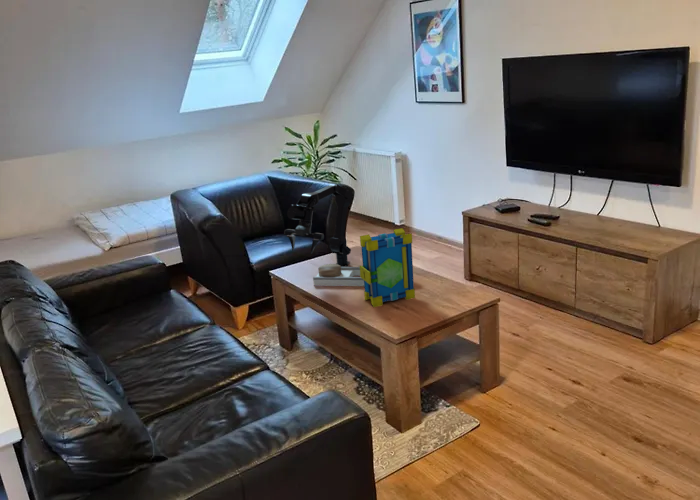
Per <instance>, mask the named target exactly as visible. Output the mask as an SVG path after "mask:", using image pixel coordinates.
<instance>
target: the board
mask: <svg viewBox="0 0 700 500" xmlns="http://www.w3.org/2000/svg"><path fill="white" fill-rule="evenodd" d="M312 281H313V286H314V287H315V286H320V287H321V286H322V287H325V286H327V287H364V280H363V279H362V278H361V277H360V266H341V275H340V276H338V277H320V276H319V272H318V273H317V274H316V276H313V277H312Z"/></svg>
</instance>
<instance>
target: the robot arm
mask: <svg viewBox="0 0 700 500" xmlns="http://www.w3.org/2000/svg"><path fill="white" fill-rule="evenodd" d="M331 195H332V196H334V199H335V203H336V206H337V209H336V218H335V228H334V234H333V236H332V237H331V236H330V238H329V244H328V245H329V249H330V250H331V252H332V254H335V256H336V258H335V259H336V263H335V264H338V265H340V266H341V267H349V264H350V263H351V262H350V261H348V256H349V255H350V254H351V251H352V249H351V248H350V247H349V246H348V245H347V244H348V243H347V242H348V241H347V239H346V236H345V232H346V223H347V221H346V220H347V213H348V207H349V206H350V204H351V203H352V198H353V193H352V191H351V190H350V189H346V188H344V187H342V186H340V185H339V184H337V183H329V184H328V185H326V186H324V187H323V188H320V189H317V190H316V191H313V192H306V193H302V194H301V195H300V198H299V199H298V201H297V202H296V204H290V207H289V208H288V210H287V211H286V216H287V217H288V219H290V220H299V222H298V225H297V226H296V227H295V229H291V228H286V229H284V231H283V235H284V236H286V237H287V238H288V239H289V242H290V245H291V250H292V251H293V252H294V251H295V247H296V245H295V244H296V236H300V237H307V238H312V241H311V242H312V243H311V248H310V254H313V253H314V250H315V248H316V246H317V244H319V242H321V241H322V240H324V239H325V235H324V233H320V232H314V233H312V225H313V223H312V221H313V214H314V212H317V209H315V206H316V205H318V203H319V202H320V201H321V200H323V199H324V198H326V197H329V196H331Z"/></svg>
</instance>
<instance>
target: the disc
mask: <svg viewBox="0 0 700 500" xmlns="http://www.w3.org/2000/svg"><path fill="white" fill-rule="evenodd" d="M341 267H342V266H340V265H338V264H336V263H329V264H328V263H327V264H323V265H320V266H319V267H318V273H319V276H320V277H338V276H340V275H341Z"/></svg>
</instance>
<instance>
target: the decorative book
mask: <svg viewBox="0 0 700 500" xmlns="http://www.w3.org/2000/svg"><path fill="white" fill-rule="evenodd" d="M359 242H360V248H361V257H362V258H361V259H362V260H361V261H362V265H358V267H360V276H359V277H361V278H362V279H363V280H364V286H363V287H364V290H363V294H364V296H363V297H364V301H368V300H370V303H371V305H372V307H373V308H377V307H381V306H383V305H384V304H383V303H384V302H393V301H397V300H399V299H403V298H404V299H405V300H407V301H408V300H411V298H413V299H416V291H415V289H416V288H414V287H415V286H414V285H415V284H414V268H413V267H414V265H413V247H412V246H413V245H412V243H413V234H412V233H406V231H405V230H404V228H402V227H401V228H396V229H393V232H391V233H380V234H378V235H376V236H371V235H370V234H364V235H360V236H359Z"/></svg>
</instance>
